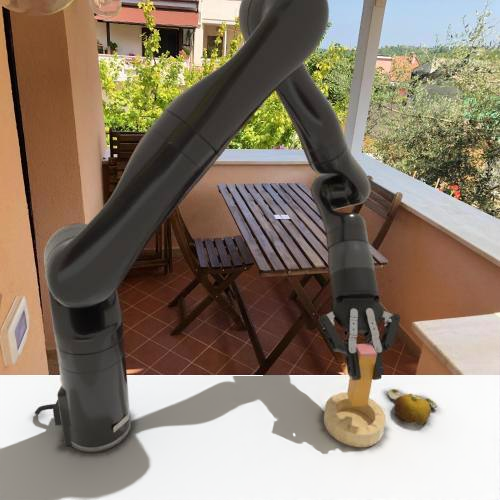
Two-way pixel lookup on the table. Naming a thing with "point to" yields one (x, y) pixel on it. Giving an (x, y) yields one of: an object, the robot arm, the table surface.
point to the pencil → (362, 376)
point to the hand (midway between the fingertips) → (366, 378)
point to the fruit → (411, 407)
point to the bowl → (354, 421)
